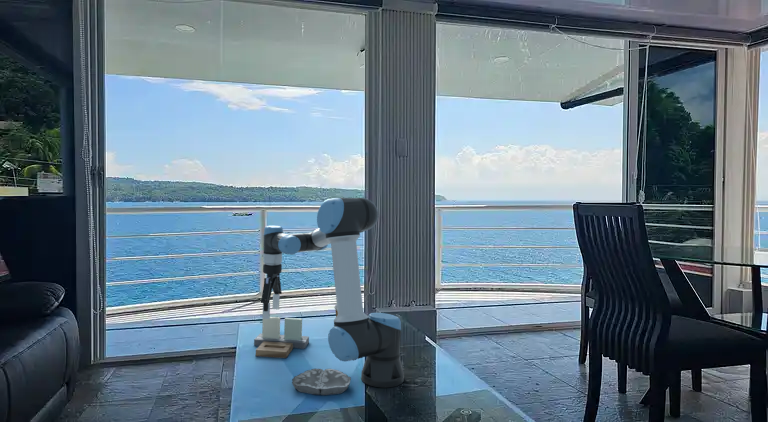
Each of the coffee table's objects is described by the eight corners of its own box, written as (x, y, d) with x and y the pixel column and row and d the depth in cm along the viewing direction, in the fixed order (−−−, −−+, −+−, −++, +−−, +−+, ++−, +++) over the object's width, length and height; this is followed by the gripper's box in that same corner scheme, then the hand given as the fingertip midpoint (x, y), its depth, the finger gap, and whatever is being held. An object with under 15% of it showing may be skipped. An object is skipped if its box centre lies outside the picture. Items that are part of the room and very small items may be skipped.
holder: (286, 358, 201) (286, 351, 201) (255, 356, 202) (255, 349, 202) (292, 349, 211) (292, 343, 211) (263, 347, 212) (263, 341, 212)
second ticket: (300, 345, 216) (301, 319, 215) (284, 344, 216) (284, 318, 215) (301, 344, 217) (302, 318, 216) (285, 343, 218) (285, 317, 217)
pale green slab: (278, 344, 216) (279, 318, 215) (262, 343, 217) (262, 317, 216) (279, 343, 218) (280, 317, 217) (263, 342, 219) (263, 316, 218)
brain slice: (351, 377, 186) (351, 369, 186) (349, 398, 169) (349, 389, 169) (296, 375, 186) (296, 367, 185) (288, 396, 169) (289, 387, 168)
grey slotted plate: (304, 348, 212) (304, 342, 212) (254, 345, 214) (254, 339, 214) (308, 342, 220) (309, 336, 220) (260, 339, 222) (260, 333, 222)
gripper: (272, 257, 227) (271, 305, 229) (253, 268, 203) (252, 322, 205) (289, 258, 227) (287, 306, 229) (272, 270, 202) (271, 323, 204)
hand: (271, 313), depth 217 cm, fingers open, 13 cm apart
